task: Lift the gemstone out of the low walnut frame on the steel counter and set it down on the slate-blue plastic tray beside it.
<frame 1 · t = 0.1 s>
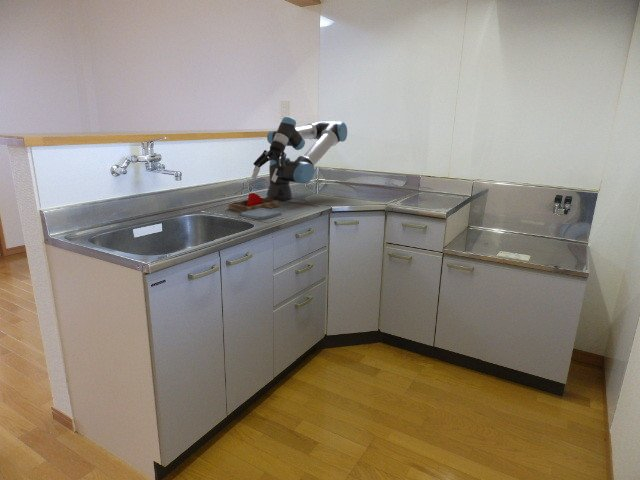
hand: (263, 179, 214), 15 cm above the table, tool tilted 35°, fingers open, 13 cm apart
frame: (254, 207, 220), on the table
gemstone: (253, 208, 220), on the table
tray: (260, 215, 204), on the table
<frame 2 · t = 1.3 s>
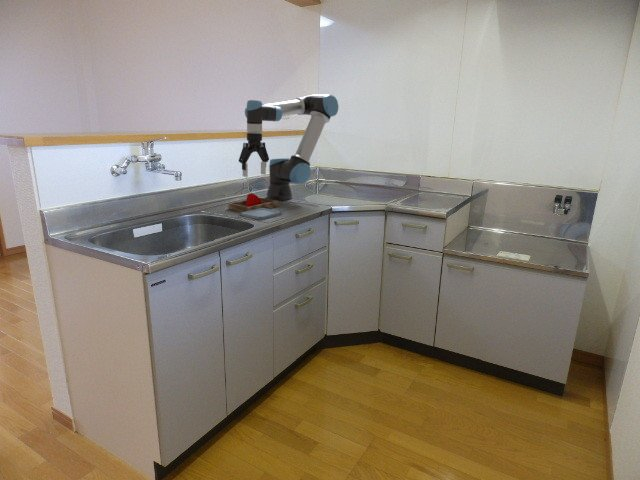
hand: (254, 175, 215), 17 cm above the table, tool pointing down, fingers open, 13 cm apart
gemstone: (252, 209, 218), on the table
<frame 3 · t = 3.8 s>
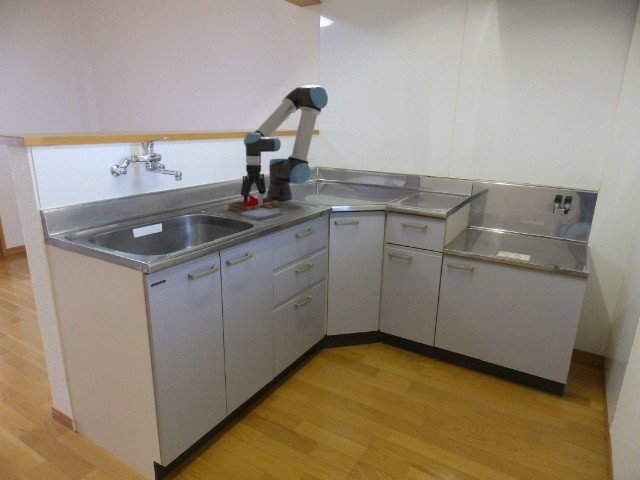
hand: (253, 207, 220), 0 cm above the table, tool pointing down, fingers open, 9 cm apart
gemstone: (249, 210, 216), on the table, touching gripper
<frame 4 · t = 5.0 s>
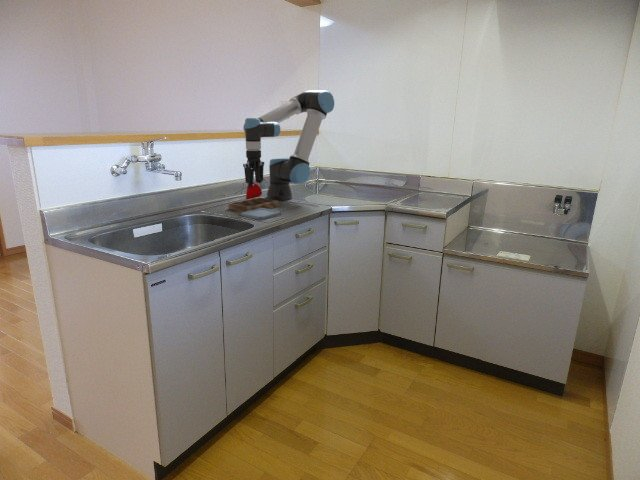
hand: (255, 195, 218), 6 cm above the table, tool pointing down, fingers closed on gemstone, 3 cm apart
gemstone: (252, 198, 216), point 5 cm above the table, touching gripper
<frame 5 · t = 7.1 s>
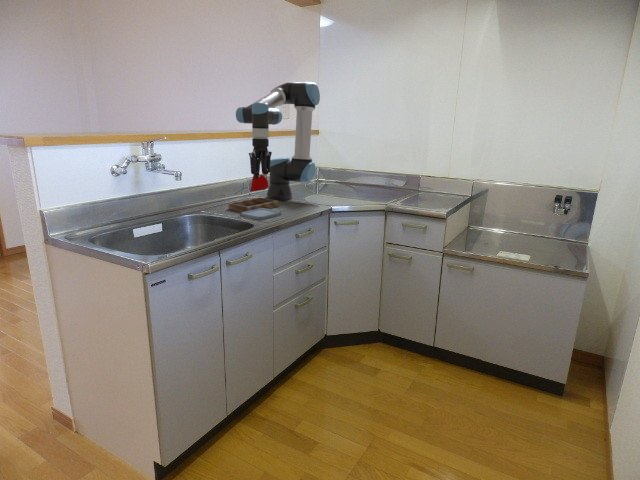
hand: (260, 188, 201), 13 cm above the table, tool pointing down, fingers closed on gemstone, 3 cm apart
gemstone: (258, 190, 198), point 12 cm above the table, touching gripper
when the fingers open (2 cm above the table, at t = 9.7 s): gemstone stays where it is, resting on tray.
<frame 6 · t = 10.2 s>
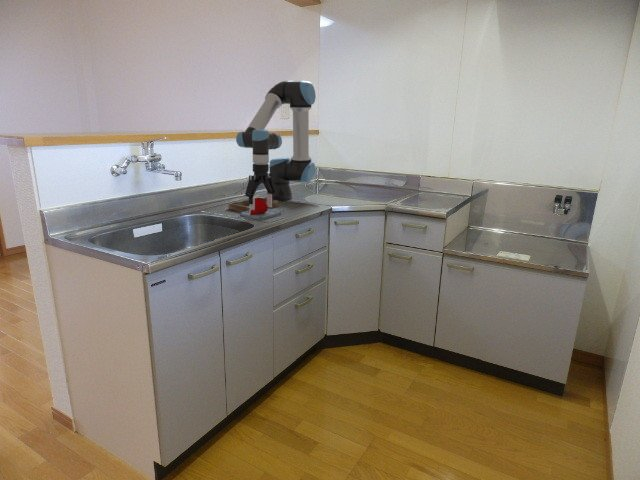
hand: (260, 208, 203), 3 cm above the table, tool pointing down, fingers open, 11 cm apart
gemstone: (257, 214, 201), point 1 cm above the table, touching tray
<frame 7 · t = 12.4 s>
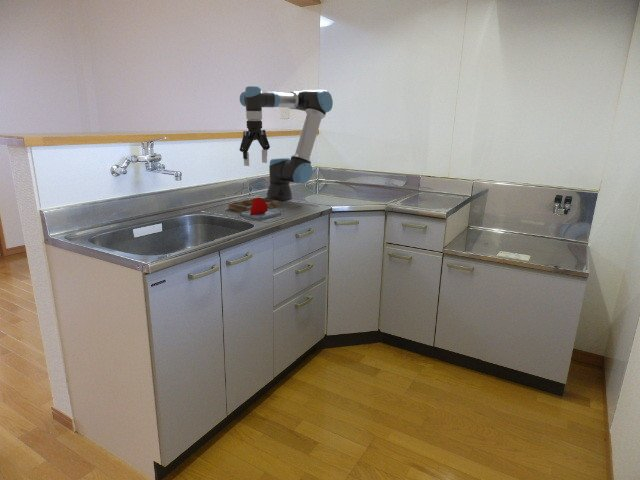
hand: (255, 164, 210), 23 cm above the table, tool pointing down, fingers open, 13 cm apart
nothing on the table moved.
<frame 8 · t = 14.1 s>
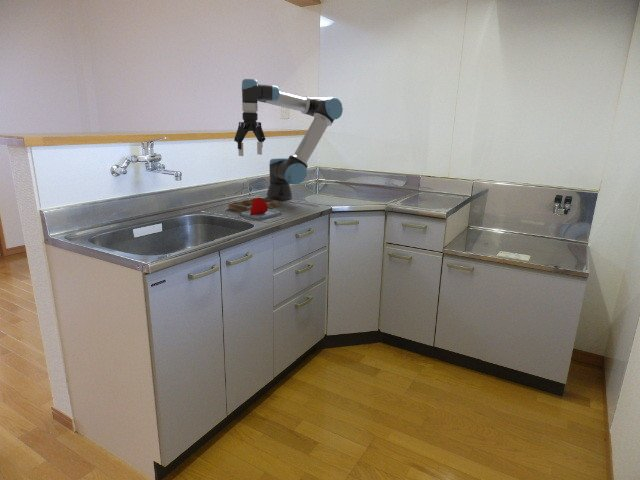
hand: (250, 155, 216), 27 cm above the table, tool pointing down, fingers open, 13 cm apart
nothing on the table moved.
at the end: gemstone 3.5 cm from the tray (horizontally); gemstone point 1.1 cm above the table; the gripper is holding nothing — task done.
